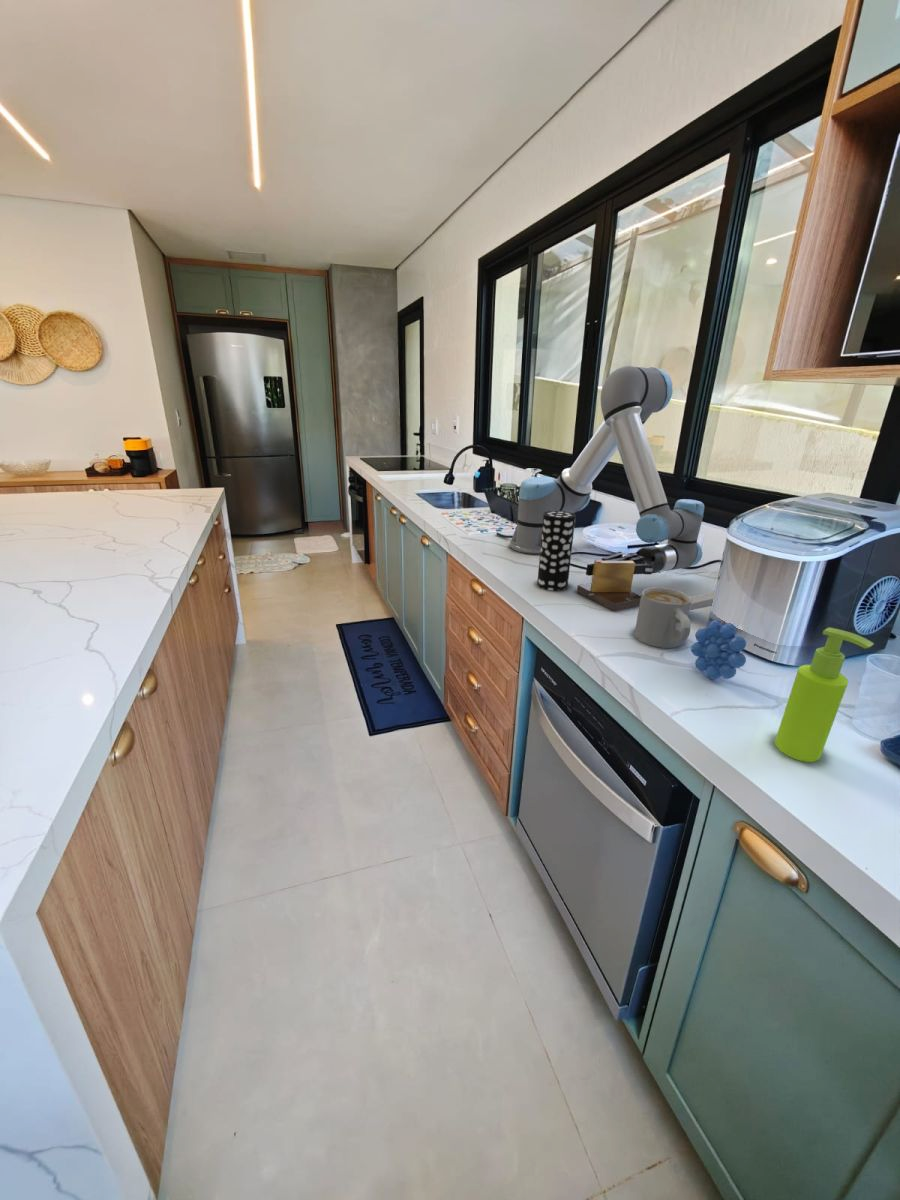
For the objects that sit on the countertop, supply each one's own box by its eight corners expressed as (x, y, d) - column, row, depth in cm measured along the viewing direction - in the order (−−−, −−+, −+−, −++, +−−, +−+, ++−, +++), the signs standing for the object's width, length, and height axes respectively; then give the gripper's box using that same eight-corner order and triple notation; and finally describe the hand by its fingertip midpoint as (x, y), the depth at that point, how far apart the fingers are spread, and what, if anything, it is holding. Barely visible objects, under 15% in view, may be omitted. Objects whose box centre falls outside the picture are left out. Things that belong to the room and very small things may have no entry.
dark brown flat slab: (649, 603, 129) (651, 595, 128) (607, 612, 123) (608, 604, 122) (610, 585, 141) (611, 578, 140) (570, 593, 135) (571, 585, 134)
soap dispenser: (818, 771, 72) (865, 647, 64) (767, 745, 77) (805, 628, 70) (834, 756, 75) (880, 636, 68) (784, 732, 80) (822, 618, 73)
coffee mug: (628, 627, 116) (635, 586, 112) (671, 628, 116) (679, 587, 112) (649, 655, 103) (658, 611, 99) (697, 656, 103) (708, 611, 100)
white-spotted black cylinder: (535, 588, 138) (541, 516, 130) (539, 578, 145) (545, 509, 137) (566, 592, 135) (574, 519, 128) (568, 582, 143) (576, 512, 135)
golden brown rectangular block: (627, 589, 132) (632, 559, 129) (630, 592, 131) (635, 562, 127) (590, 589, 132) (594, 559, 129) (592, 592, 130) (596, 561, 127)
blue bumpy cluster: (754, 691, 92) (771, 632, 87) (724, 696, 90) (740, 636, 85) (706, 660, 102) (720, 606, 97) (678, 665, 100) (691, 609, 95)
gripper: (669, 579, 136) (602, 592, 126) (635, 565, 146) (570, 575, 137) (675, 553, 133) (607, 563, 123) (639, 540, 143) (574, 549, 134)
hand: (588, 570), depth 130 cm, fingers closed
